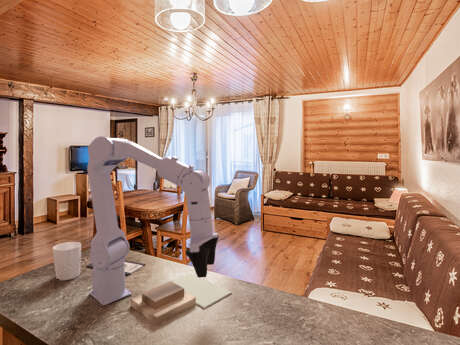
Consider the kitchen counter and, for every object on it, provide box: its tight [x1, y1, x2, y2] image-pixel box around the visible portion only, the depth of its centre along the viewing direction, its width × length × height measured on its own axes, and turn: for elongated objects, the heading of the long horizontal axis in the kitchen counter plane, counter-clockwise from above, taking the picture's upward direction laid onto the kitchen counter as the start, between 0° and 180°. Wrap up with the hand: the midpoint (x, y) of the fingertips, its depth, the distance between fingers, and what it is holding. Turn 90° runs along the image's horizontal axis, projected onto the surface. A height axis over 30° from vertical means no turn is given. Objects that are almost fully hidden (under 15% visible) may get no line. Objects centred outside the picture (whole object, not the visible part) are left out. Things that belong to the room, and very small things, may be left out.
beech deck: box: [130, 291, 197, 326], centre depth 73 cm, size 12×12×2 cm
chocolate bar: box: [85, 259, 146, 277], centre depth 97 cm, size 9×1×18 cm
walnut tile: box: [141, 280, 184, 309], centre depth 73 cm, size 6×9×2 cm, turn 138°
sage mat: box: [171, 272, 232, 309], centre depth 81 cm, size 18×11×1 cm, turn 48°
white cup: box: [52, 241, 82, 281], centre depth 89 cm, size 8×8×10 cm
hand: (206, 270), depth 70 cm, fingers open, 7 cm apart
